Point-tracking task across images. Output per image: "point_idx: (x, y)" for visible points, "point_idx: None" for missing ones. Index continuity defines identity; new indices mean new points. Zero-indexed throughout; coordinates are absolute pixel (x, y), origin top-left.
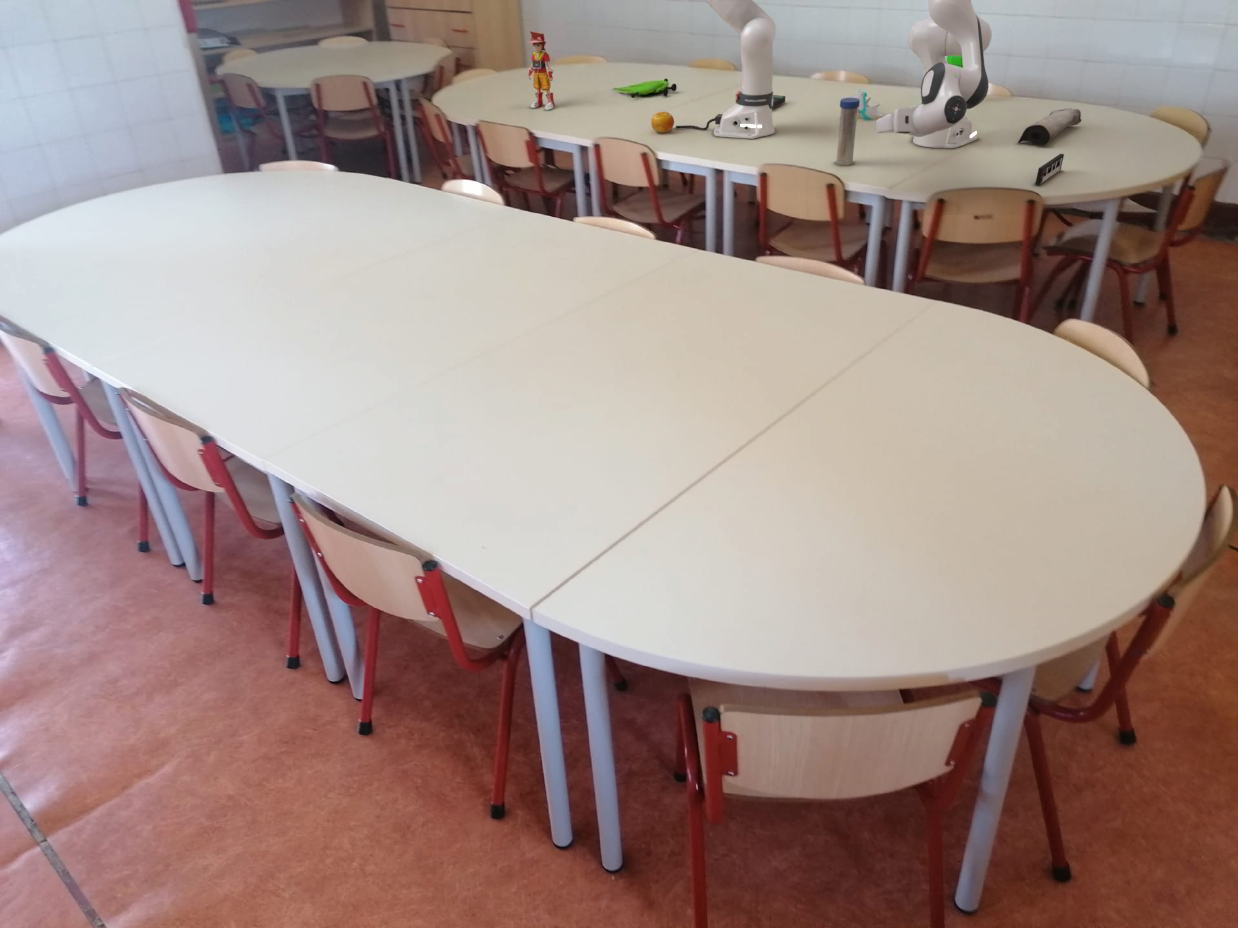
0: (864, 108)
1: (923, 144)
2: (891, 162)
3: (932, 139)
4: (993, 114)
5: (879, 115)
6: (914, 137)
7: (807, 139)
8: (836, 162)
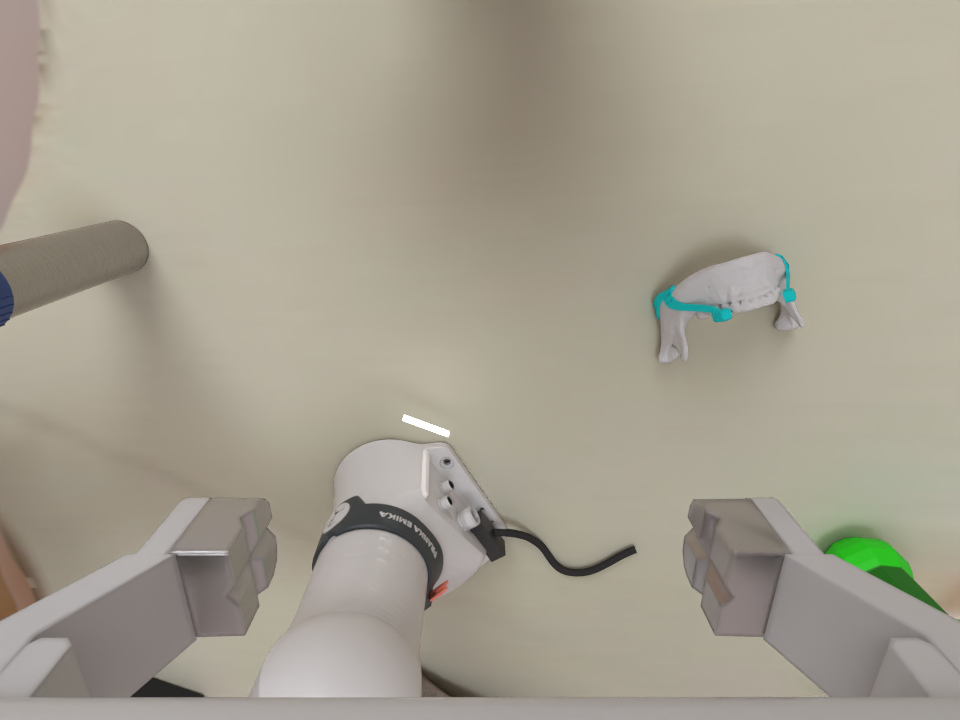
0: (676, 304)
1: (340, 466)
2: (173, 381)
3: (334, 495)
4: (689, 629)
5: (661, 350)
6: (388, 448)
7: (390, 94)
8: (110, 221)
